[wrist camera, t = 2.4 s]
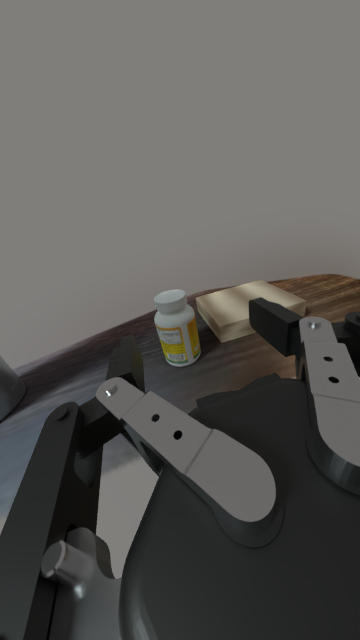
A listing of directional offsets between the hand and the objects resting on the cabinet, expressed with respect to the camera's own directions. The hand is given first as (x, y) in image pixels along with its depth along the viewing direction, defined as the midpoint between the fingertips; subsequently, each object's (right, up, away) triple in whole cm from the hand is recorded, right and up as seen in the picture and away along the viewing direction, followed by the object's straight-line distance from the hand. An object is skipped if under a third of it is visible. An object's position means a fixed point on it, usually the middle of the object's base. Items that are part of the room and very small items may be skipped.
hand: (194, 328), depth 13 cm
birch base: (+11, +2, +22) cm, 24 cm away
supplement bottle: (0, -5, +15) cm, 16 cm away
